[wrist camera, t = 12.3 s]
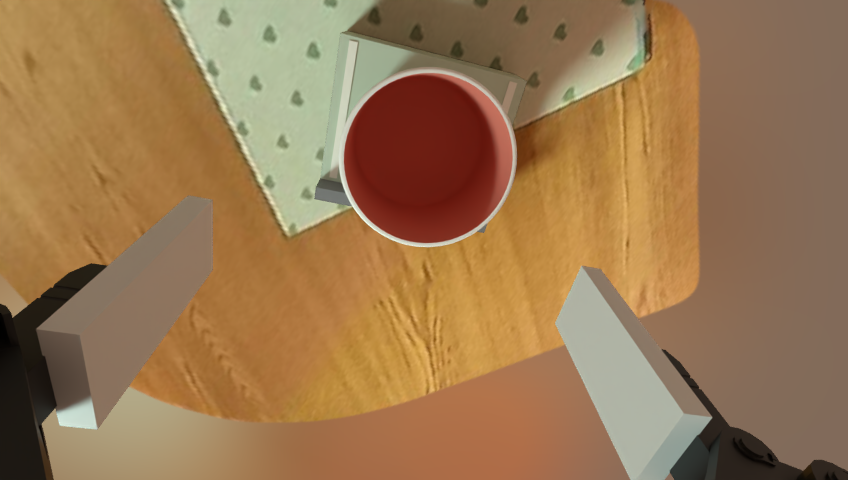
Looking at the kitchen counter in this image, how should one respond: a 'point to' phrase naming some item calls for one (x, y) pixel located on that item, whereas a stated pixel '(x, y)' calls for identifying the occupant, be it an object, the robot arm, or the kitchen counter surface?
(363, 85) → the dock
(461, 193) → the cup
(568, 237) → the kitchen counter surface
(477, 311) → the kitchen counter surface
